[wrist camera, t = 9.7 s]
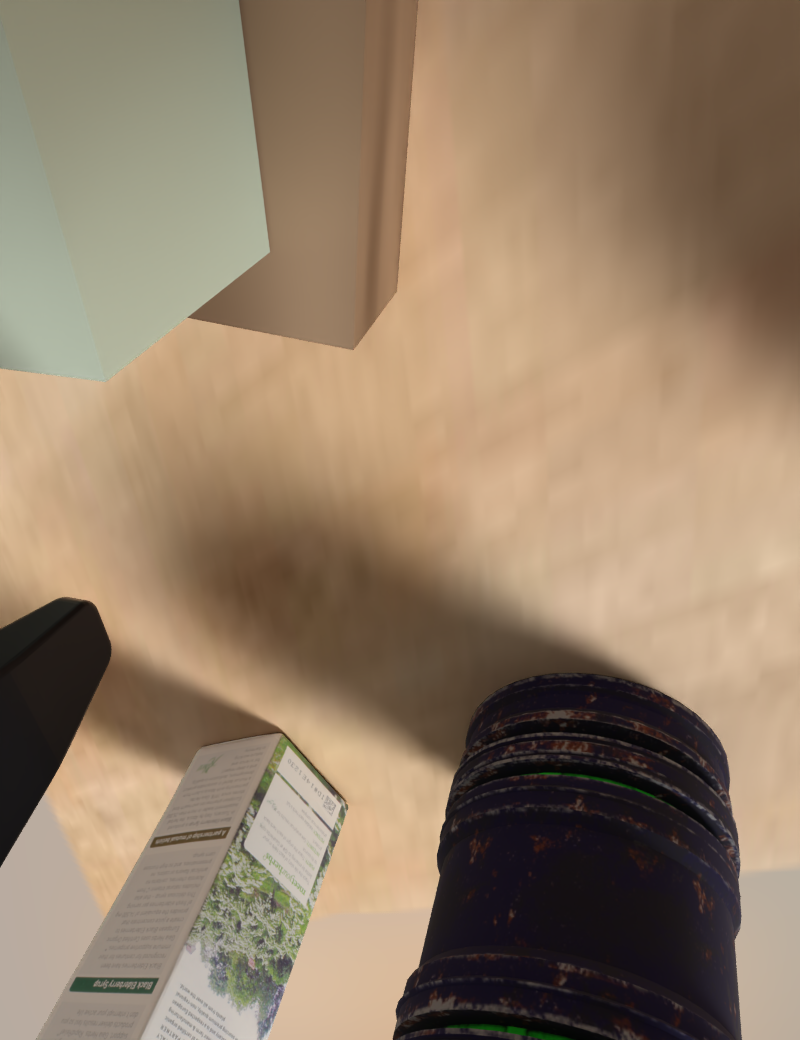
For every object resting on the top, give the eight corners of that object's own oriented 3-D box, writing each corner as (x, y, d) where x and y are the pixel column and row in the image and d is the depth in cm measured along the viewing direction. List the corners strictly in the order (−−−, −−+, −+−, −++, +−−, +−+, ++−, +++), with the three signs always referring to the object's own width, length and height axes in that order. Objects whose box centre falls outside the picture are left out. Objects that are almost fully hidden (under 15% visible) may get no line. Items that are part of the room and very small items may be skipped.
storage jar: (414, 715, 30) (263, 1194, 18) (631, 634, 24) (605, 1252, 13) (562, 852, 33) (510, 1335, 22) (785, 808, 27) (874, 1432, 16)
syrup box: (195, 744, 36) (-11, 1104, 25) (286, 727, 33) (97, 1127, 22) (266, 815, 38) (105, 1172, 27) (356, 804, 35) (218, 1201, 24)
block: (436, -183, 14) (373, -216, 11) (401, 285, 20) (353, 349, 17) (12, -214, 15) (-147, -250, 12) (94, 230, 21) (-2, 280, 18)
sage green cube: (232, -49, 13) (-16, -38, 8) (269, 252, 16) (105, 382, 11) (-15, -43, 14) (-356, -32, 9) (65, 235, 17) (-161, 347, 12)
